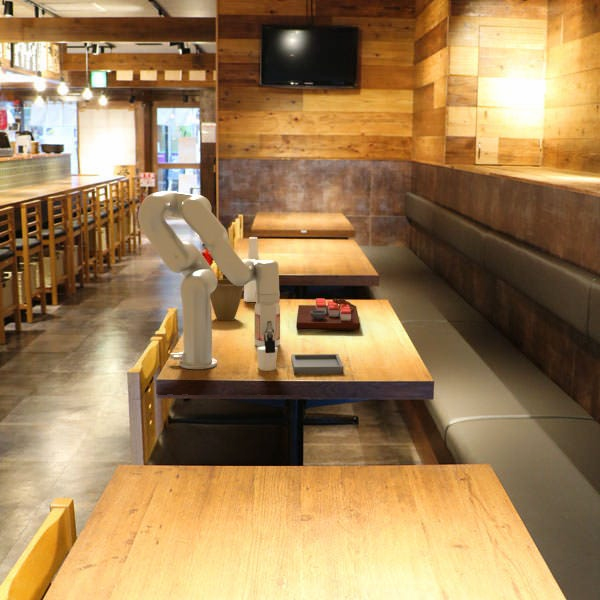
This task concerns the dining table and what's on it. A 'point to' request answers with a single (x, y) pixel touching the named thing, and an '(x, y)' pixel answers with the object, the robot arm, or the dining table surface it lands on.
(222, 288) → the plant pot
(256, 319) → the fruit juice
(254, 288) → the alcohol
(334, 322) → the sushi
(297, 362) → the serving tray
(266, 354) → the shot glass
